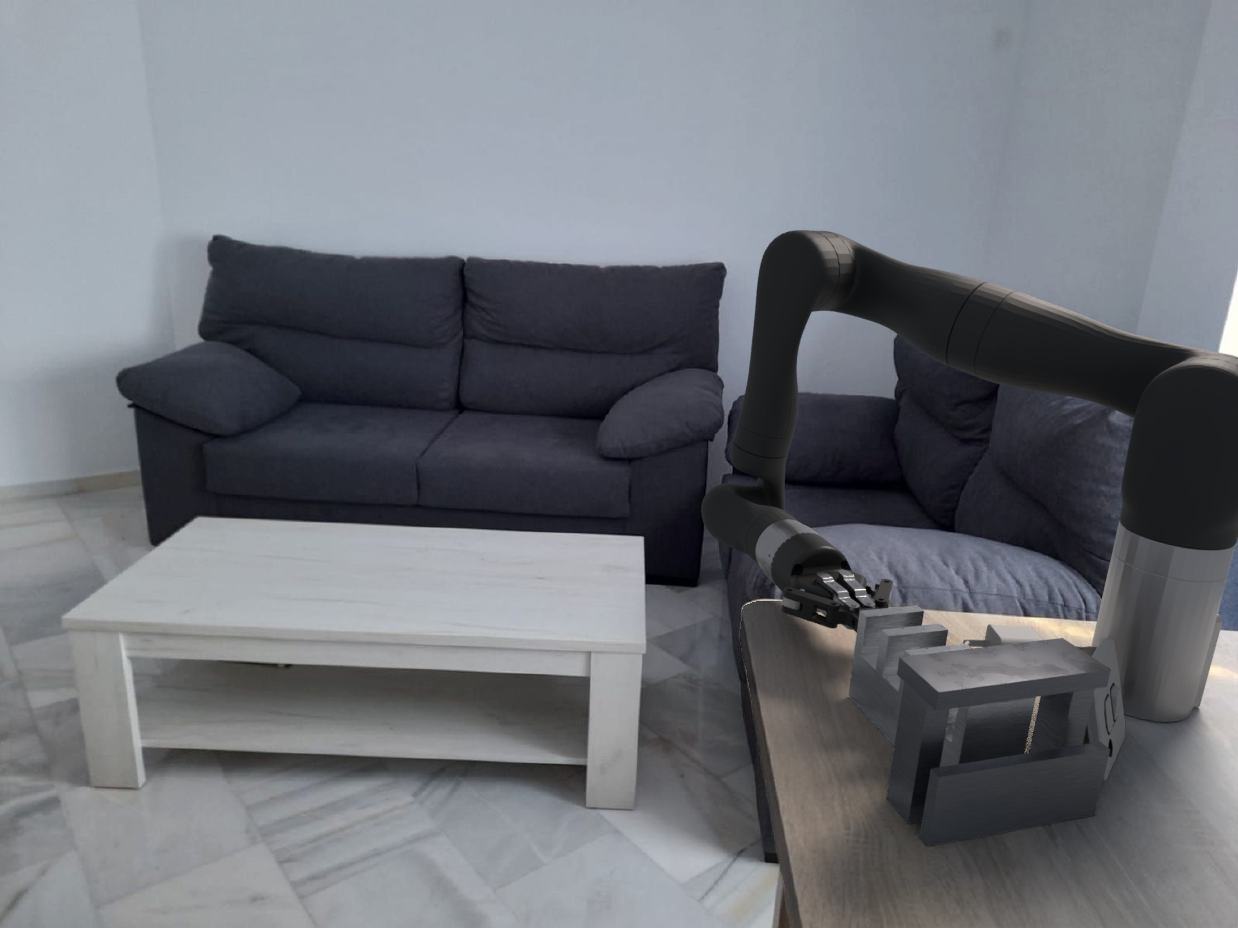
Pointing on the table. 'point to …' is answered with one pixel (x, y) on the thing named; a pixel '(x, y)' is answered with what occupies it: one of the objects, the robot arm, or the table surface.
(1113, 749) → the electrical switch
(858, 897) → the table surface
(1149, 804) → the table surface
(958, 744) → the heatsink block
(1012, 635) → the usb wall charger
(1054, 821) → the grey open box frame
